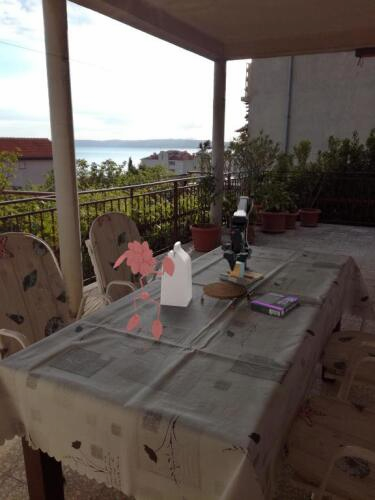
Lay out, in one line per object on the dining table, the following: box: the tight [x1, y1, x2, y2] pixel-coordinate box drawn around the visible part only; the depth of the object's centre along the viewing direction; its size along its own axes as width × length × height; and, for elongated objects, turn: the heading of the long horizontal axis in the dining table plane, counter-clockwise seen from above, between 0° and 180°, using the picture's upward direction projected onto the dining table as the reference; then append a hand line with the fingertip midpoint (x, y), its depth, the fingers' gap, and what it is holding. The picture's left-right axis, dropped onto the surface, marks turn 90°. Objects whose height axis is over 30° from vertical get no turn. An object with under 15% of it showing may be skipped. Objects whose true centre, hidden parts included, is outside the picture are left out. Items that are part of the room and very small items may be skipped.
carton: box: [229, 261, 244, 278], centre depth 202 cm, size 4×6×8 cm, turn 51°
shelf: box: [219, 269, 265, 286], centre depth 207 cm, size 18×16×3 cm
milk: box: [159, 241, 193, 308], centre depth 171 cm, size 12×12×26 cm
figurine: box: [113, 240, 175, 350], centre depth 133 cm, size 15×26×35 cm, turn 60°
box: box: [249, 290, 300, 317], centre depth 170 cm, size 14×4×20 cm
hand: (236, 269), depth 202 cm, fingers open, 9 cm apart
